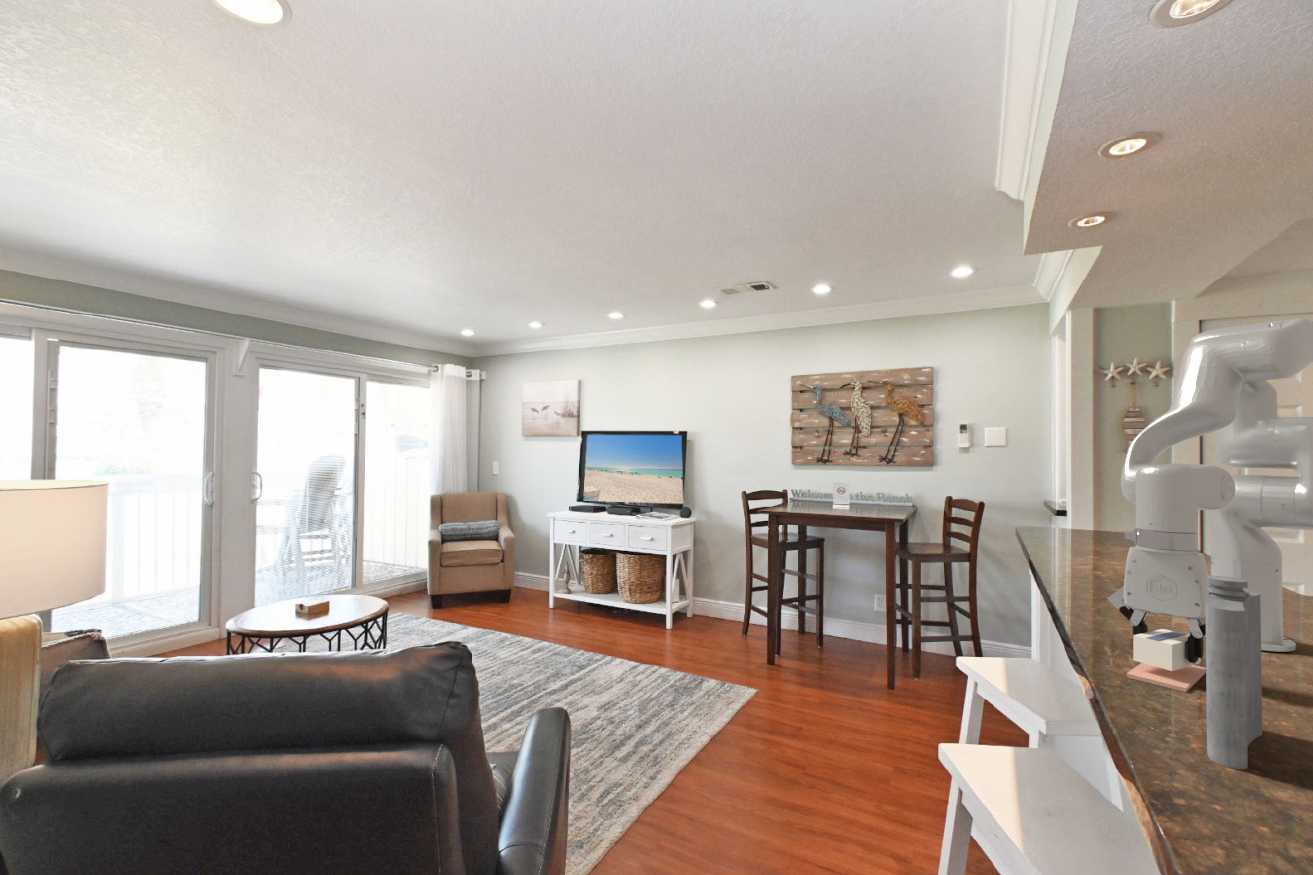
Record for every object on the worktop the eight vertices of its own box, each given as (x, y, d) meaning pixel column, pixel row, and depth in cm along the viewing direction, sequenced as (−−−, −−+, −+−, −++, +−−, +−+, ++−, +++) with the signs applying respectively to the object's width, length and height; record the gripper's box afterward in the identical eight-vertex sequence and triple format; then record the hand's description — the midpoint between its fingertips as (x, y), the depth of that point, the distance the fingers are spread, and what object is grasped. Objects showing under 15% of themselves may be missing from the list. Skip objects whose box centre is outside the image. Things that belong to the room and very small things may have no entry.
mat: (1151, 659, 99) (1151, 655, 99) (1206, 671, 94) (1206, 668, 94) (1126, 677, 91) (1126, 673, 91) (1186, 692, 85) (1186, 688, 85)
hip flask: (1245, 772, 63) (1243, 589, 64) (1195, 757, 67) (1193, 582, 67) (1263, 731, 73) (1261, 572, 74) (1219, 719, 76) (1217, 567, 77)
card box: (1133, 660, 92) (1133, 634, 93) (1162, 652, 96) (1162, 628, 97) (1172, 671, 88) (1171, 643, 88) (1200, 662, 92) (1200, 636, 92)
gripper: (1093, 536, 97) (1094, 645, 97) (1236, 551, 84) (1238, 677, 83) (1108, 533, 102) (1108, 637, 101) (1246, 547, 88) (1247, 666, 88)
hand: (1167, 654), depth 92 cm, fingers closed on card box, 5 cm apart
